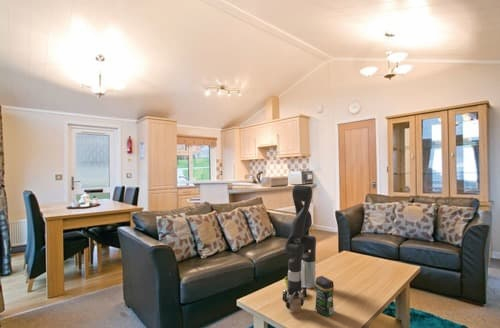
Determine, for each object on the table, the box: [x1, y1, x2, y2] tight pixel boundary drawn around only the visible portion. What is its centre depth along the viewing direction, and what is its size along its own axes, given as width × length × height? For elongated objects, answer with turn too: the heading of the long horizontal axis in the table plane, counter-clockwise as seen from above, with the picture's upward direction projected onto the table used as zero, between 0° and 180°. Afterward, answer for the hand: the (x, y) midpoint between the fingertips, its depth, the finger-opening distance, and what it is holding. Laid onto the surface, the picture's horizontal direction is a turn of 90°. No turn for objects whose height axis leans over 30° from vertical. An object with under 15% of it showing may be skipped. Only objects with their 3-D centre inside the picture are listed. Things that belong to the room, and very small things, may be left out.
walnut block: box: [289, 296, 302, 314], centre depth 151 cm, size 5×5×7 cm
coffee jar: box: [315, 275, 335, 317], centre depth 149 cm, size 10×8×19 cm
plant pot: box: [284, 275, 288, 290], centre depth 171 cm, size 9×9×9 cm
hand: (294, 306), depth 151 cm, fingers open, 8 cm apart
